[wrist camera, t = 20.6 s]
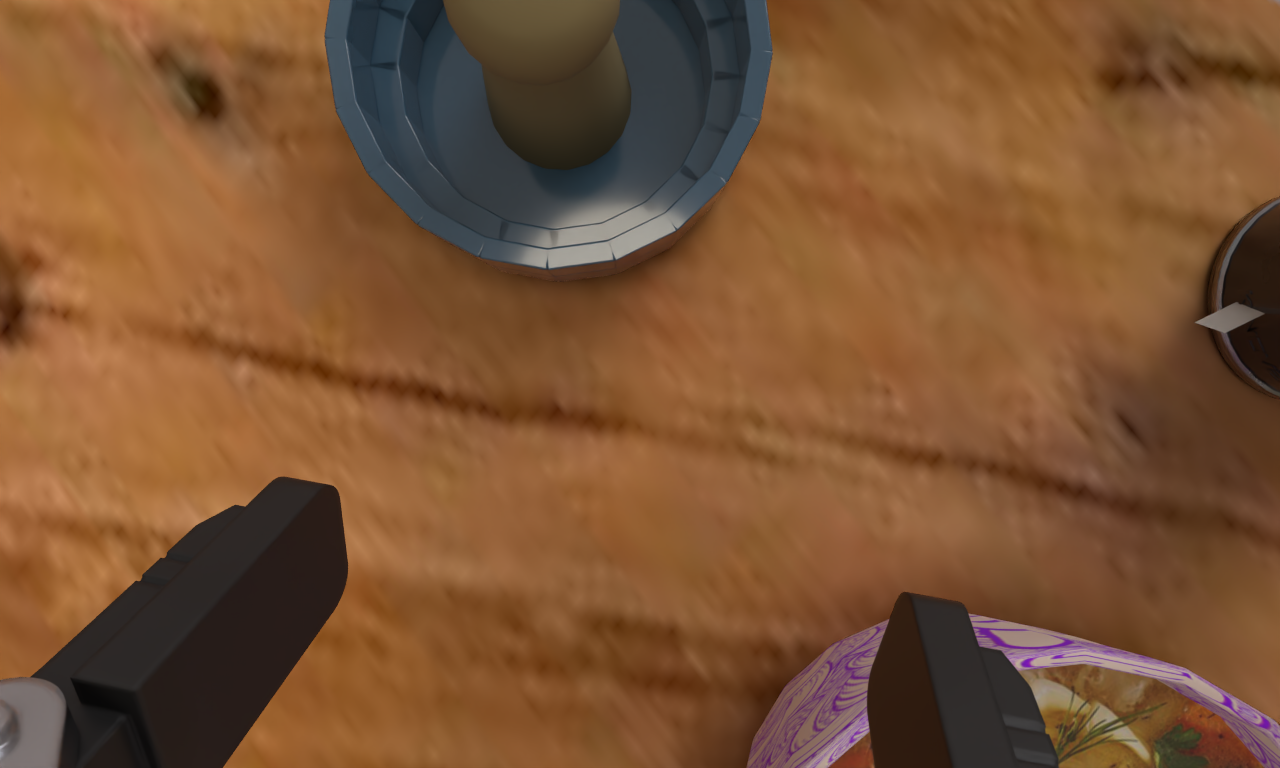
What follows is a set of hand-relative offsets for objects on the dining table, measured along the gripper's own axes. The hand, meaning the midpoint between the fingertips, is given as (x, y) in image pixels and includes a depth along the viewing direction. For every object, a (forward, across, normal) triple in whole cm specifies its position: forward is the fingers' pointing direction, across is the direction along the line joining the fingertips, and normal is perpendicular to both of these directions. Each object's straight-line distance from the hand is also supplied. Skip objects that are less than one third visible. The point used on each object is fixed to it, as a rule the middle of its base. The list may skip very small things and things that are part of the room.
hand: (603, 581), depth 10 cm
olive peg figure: (+24, +7, -3) cm, 25 cm away
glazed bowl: (+25, +7, -3) cm, 26 cm away
